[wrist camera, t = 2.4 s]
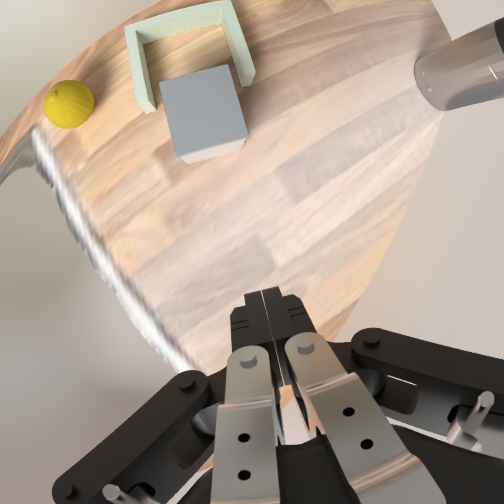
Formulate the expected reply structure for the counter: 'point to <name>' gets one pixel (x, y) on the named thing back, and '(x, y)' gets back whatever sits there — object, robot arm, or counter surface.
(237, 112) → the lidded grey box
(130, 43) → the bay
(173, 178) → the counter surface
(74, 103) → the lemon
